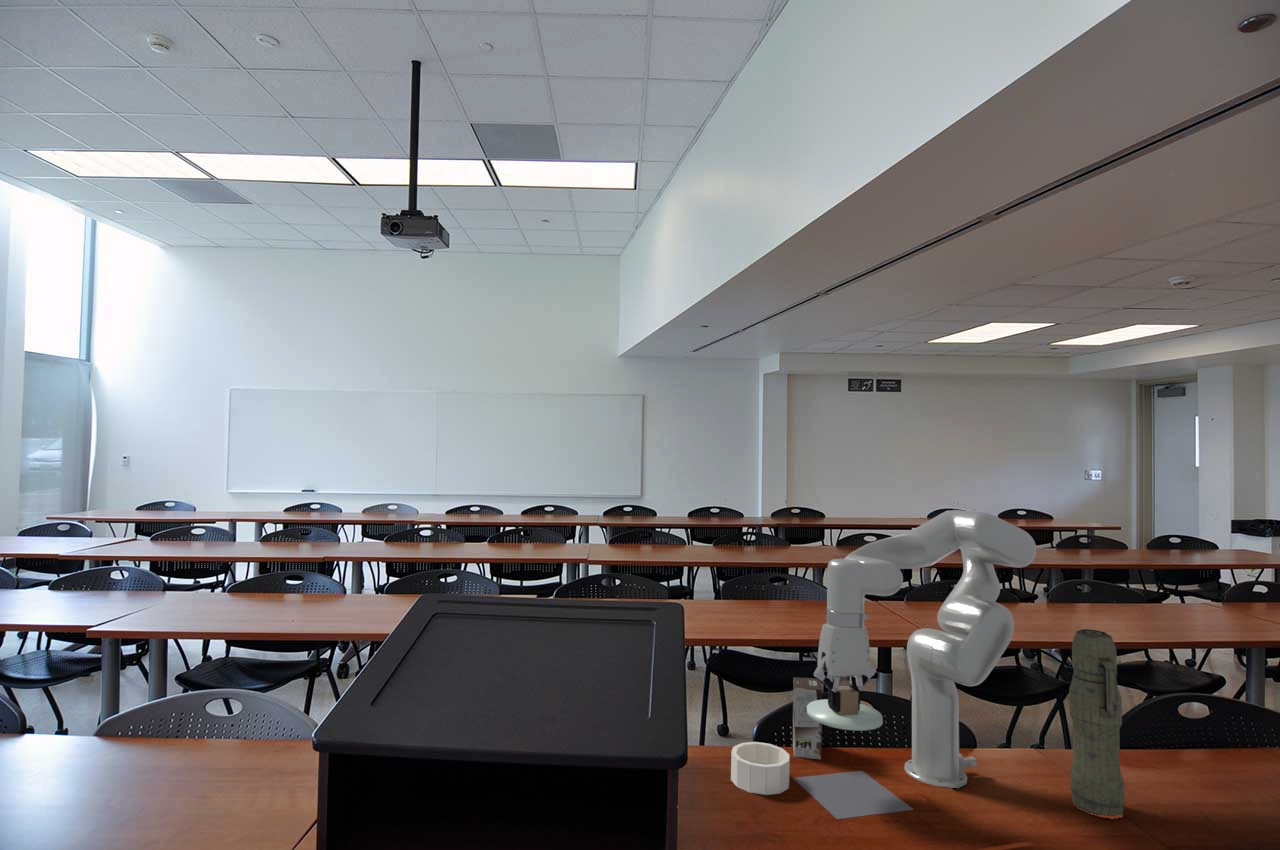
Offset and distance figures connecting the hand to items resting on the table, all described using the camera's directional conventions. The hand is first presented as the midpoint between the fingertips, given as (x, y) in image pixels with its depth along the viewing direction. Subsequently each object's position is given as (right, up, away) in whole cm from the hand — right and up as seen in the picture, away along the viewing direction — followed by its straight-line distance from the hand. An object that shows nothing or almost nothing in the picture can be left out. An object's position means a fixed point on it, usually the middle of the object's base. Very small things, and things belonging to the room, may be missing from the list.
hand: (844, 708), depth 135 cm
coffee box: (-3, -19, +19) cm, 27 cm away
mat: (+1, -17, -1) cm, 17 cm away
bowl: (-17, -17, +3) cm, 24 cm away
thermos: (+50, -19, -3) cm, 54 cm away
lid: (0, -2, 0) cm, 2 cm away
